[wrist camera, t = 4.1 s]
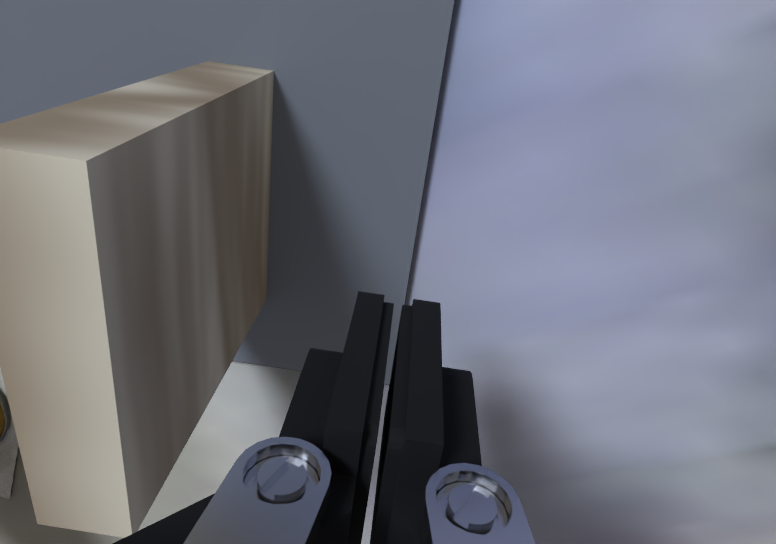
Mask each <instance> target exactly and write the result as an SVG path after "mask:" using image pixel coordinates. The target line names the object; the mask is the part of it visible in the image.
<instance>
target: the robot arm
mask: <svg viewBox="0 0 776 544" xmlns="http://www.w3.org/2000/svg"><path fill="white" fill-rule="evenodd" d="M384 296H385V295H382V294H375V293H368V292H361V291H358V295H357V299H356V303H355V307H354V311H353V315H352V319H351V323H350V327H349V331H348V335H347V339H346V343H345V347H344V351H343V353H342V352H336V351H329V350H322V349H315V348H310V350H309V352H308V354H307V357H306V360H305V363H304V366H303V369H302V372H301V375H300V378H299V381H298V383H297V386H296V389H295V392H294V395H293V398H292V401H291V404H290V407H289V409H288V412H287V415H286V418H285V421H284V424H283V427H282V430H281V433H280V436H279V437H276V438H269V439H266V440H263V441H260V442H257V443H256V444H254V445H252V446H251V447H249V448H248V449H246V450H245V451H244V452H243V453H242V454H241V455H240V457H239V458H238V459H237V460H236V462H235V463H234V465H233V466H232V468H231V469H230V471H229V473H228V474H227V476H226V477H225V479H224V480H223V482H222V484H221V485H220V487H219V488H218V490H217V491H216V493H215V494H213V495H211V496H209V497H207V498H205V499H203V500H201V501H199V502H196V503H194V504H192V505H190V506H188V507H186V508H184V509H182V510H180V511H178V512H176V513H174V514H172V515H170V516H168V517H166V518H164V519H162V520H160V521H158V522H156V523H154V524H152V525H150V526H148V527H146V528H144V529H142V530H139V531H137V532H135V533H133V534H131V535H129V536H127V537H125V538H123V539H121V540H119V541H117V542H115V543H113V544H361V540H362V533H363V527H364V520H365V514H366V507H367V501H368V495H369V488H370V482H371V475H372V469H373V463H374V456H375V450H376V443H377V436H378V429H379V421H380V413H381V405H382V397H383V389H384V381H385V373H386V364H387V356H388V348H389V340H390V332H391V324H392V316H393V308H394V303H388V302H384ZM370 544H535V541H534V538H533V535H532V532H531V529H530V526H529V523H528V521H527V518H526V515H525V512H524V509H523V506H522V503H521V501H520V499H519V497H518V495H517V493H516V491H515V490H514V488H513V487H512V486H511V485H510V484H509V483H508V482H507V481H506V480H505V479H504V478H503V477H501V476H500V475H498V474H497V473H495V472H494V471H492V470H490V469H487V468H484V467H482V464H481V455H480V445H479V435H478V426H477V416H476V407H475V397H474V387H473V378H472V373H471V372H470V371H465V370H458V369H452V368H445V367H442V350H441V310H440V303H437V302H430V301H423V300H416V299H414V300H413V304H412V306H409V305H402V309H401V316H400V322H399V328H398V334H397V341H396V347H395V353H394V359H393V366H392V372H391V378H390V384H389V391H388V397H387V403H386V410H385V417H384V424H383V433H382V442H381V451H380V460H379V468H378V477H377V486H376V495H375V504H374V513H373V521H372V530H371V539H370Z"/></svg>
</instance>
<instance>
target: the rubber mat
mask: <svg viewBox="0 0 776 544" xmlns="http://www.w3.org/2000/svg"><path fill="white" fill-rule="evenodd" d="M453 6H454V0H0V124H1V123H5V122H8V121H11V120H15V119H18V118H21V117H25V116H28V115H31V114H35V113H38V112H41V111H44V110H48V109H51V108H54V107H58V106H61V105H64V104H68V103H71V102H74V101H78V100H81V99H84V98H88V97H91V96H94V95H98V94H101V93H104V92H107V91H111V90H114V89H117V88H121V87H124V86H127V85H131V84H134V83H137V82H141V81H144V80H147V79H151V78H154V77H157V76H161V75H164V74H167V73H170V72H174V71H177V70H180V69H184V68H187V67H190V66H194V65H197V64H200V63H204V62H207V61H211V62H218V63H225V64H231V65H238V66H245V67H252V68H259V69H265V70H272V71H274V82H273V113H272V143H271V174H270V205H269V235H268V266H267V297H266V301H265V303H264V305H263V307H262V308H261V310H260V312H259V314H258V316H257V317H256V319H255V321H254V323H253V325H252V326H251V328H250V330H249V332H248V333H247V335H246V337H245V339H244V341H243V342H242V344H241V346H240V348H239V350H238V351H237V353H236V355H235V357H234V359H233V360H232V361H237V362H244V363H250V364H257V365H263V366H270V367H276V368H283V369H289V370H296V371H302V369H303V366H304V363H305V360H306V357H307V354H308V352H309V350H310V348H315V349H322V350H329V351H336V352H342V353H343V351H344V347H345V343H346V339H347V335H348V331H349V327H350V323H351V319H352V315H353V311H354V307H355V303H356V299H357V295H358V291H361V292H368V293H375V294H382V295H385V296H384V302H388V303H394V308H393V316H392V324H391V332H390V340H389V348H388V356H387V364H386V373H385V381H384V384H386V385H389V384H390V378H391V372H392V366H393V359H394V353H395V347H396V341H397V334H398V328H399V322H400V316H401V309H402V305H404V303H405V297H406V291H407V285H408V279H409V273H410V267H411V261H412V255H413V248H414V242H415V236H416V230H417V224H418V218H419V212H420V206H421V200H422V194H423V188H424V182H425V176H426V170H427V164H428V157H429V151H430V145H431V139H432V133H433V127H434V121H435V115H436V109H437V103H438V97H439V91H440V85H441V79H442V72H443V66H444V60H445V54H446V48H447V42H448V36H449V30H450V24H451V18H452V12H453Z"/></svg>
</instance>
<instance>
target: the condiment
mask: <svg viewBox="0 0 776 544" xmlns="http://www.w3.org/2000/svg"><path fill="white" fill-rule="evenodd" d="M18 447H19V444H18V440H17V436H16V432H15V427H14V423H13V419H12V415H11V410H10V406H9V402H8V398H7V394H6V389H5V385H4V381H3V377H2V372H1V368H0V497H4V498H6V499H9V500H10V495H11V487H12V483H13V473H14V469H15V464H16V457H17V453H18Z"/></svg>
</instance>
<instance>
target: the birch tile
mask: <svg viewBox="0 0 776 544" xmlns="http://www.w3.org/2000/svg"><path fill="white" fill-rule="evenodd" d="M273 82H274V71H272V70H265V69H259V68H252V67H245V66H238V65H231V64H225V63H218V62H211V61H207V62H204V63H200V64H197V65H194V66H190V67H187V68H184V69H180V70H177V71H174V72H170V73H167V74H164V75H161V76H157V77H154V78H151V79H147V80H144V81H141V82H137V83H134V84H131V85H127V86H124V87H121V88H117V89H114V90H111V91H107V92H104V93H101V94H98V95H94V96H91V97H88V98H84V99H81V100H78V101H74V102H71V103H68V104H64V105H61V106H58V107H54V108H51V109H48V110H44V111H41V112H38V113H35V114H31V115H28V116H25V117H21V118H18V119H15V120H11V121H8V122H5V123H1V124H0V368H1V372H2V377H3V381H4V385H5V389H6V394H7V398H8V402H9V406H10V410H11V415H12V419H13V423H14V427H15V432H16V436H17V440H18V444H19V449H20V453H21V457H22V461H23V466H24V470H25V474H26V478H27V482H28V487H29V491H30V495H31V499H32V504H33V508H34V512H35V516H36V521H37V524H40V525H47V526H53V527H59V528H65V529H72V530H78V531H84V532H91V533H97V534H103V535H109V536H116V537H122V538H125V537H127V536H129V535H131V534H133V533H135V532H137V531H138V529H139V527H140V525H141V523H142V522H143V520H144V518H145V516H146V514H147V513H148V511H149V509H150V507H151V505H152V504H153V502H154V500H155V498H156V496H157V495H158V493H159V491H160V489H161V488H162V486H163V484H164V482H165V480H166V479H167V477H168V475H169V473H170V471H171V470H172V468H173V466H174V464H175V462H176V461H177V459H178V457H179V455H180V453H181V452H182V450H183V448H184V446H185V445H186V443H187V441H188V439H189V437H190V436H191V434H192V432H193V430H194V428H195V427H196V425H197V423H198V421H199V419H200V418H201V416H202V414H203V412H204V411H205V409H206V407H207V405H208V403H209V402H210V400H211V398H212V396H213V394H214V393H215V391H216V389H217V387H218V385H219V384H220V382H221V380H222V378H223V376H224V375H225V373H226V371H227V369H228V368H229V366H230V364H231V362H232V360H233V359H234V357H235V355H236V353H237V351H238V350H239V348H240V346H241V344H242V342H243V341H244V339H245V337H246V335H247V333H248V332H249V330H250V328H251V326H252V325H253V323H254V321H255V319H256V317H257V316H258V314H259V312H260V310H261V308H262V307H263V305H264V303H265V301H266V297H267V266H268V235H269V205H270V174H271V143H272V113H273Z"/></svg>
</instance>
